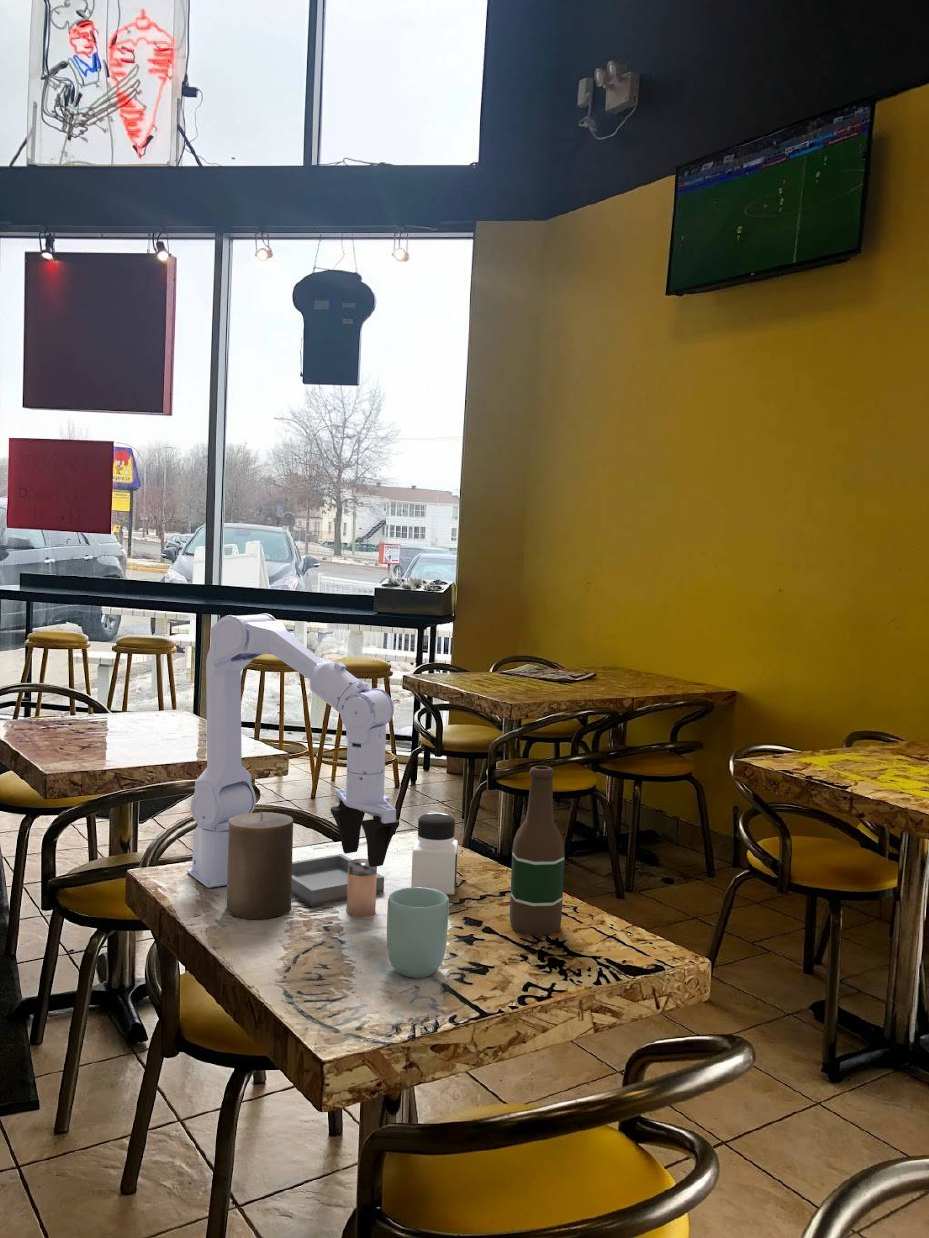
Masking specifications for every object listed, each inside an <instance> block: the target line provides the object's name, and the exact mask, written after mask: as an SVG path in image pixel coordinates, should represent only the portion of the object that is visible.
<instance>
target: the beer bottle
mask: <svg viewBox="0 0 929 1238" xmlns="http://www.w3.org/2000/svg"><path fill="white" fill-rule="evenodd" d="M528 775H530V782H529V793H528V800H527V811H526V813H525V814H526V815H525V819H524V821H523V822H522V823H521V825H520V826H519V828H517V831H516V833H515V835H514V838H513V842H512V843H513V844H512V850H511V851H512V853H511V870H510V871H511V872H510V873H511V874H510V875H511V876H510V892H509V893H510V897H509V922H510V925H511V926H512V928H513V929H514V931H515V932H518V933H522V934H525V935H528V936H533V937H534V936H551V935H552V934H554V933H555V932H557V931H559V930H560V929H561V926H562V925H561V924H562V917H563V901H564V900H563V899H564V896H563V895H564V876H565V875H564V873H565V843H564V839H563V837H562V833H561V831H560V830H559V828H558V826H557V824H556V823H555V818H554V801H553V800H554V798H553V797H554V794H553V788H554V787H553V785H554V784H553V777H555V771H554V769H553V768H552V767H550V766H547V765H534V766H532V767H530V768H529V772H528Z"/></svg>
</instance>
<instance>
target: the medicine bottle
mask: <svg viewBox="0 0 929 1238" xmlns="http://www.w3.org/2000/svg"><path fill="white" fill-rule="evenodd" d="M417 823H418V824H417V838H415V840H414V844H413V849H412V856H411V857H412V858H411V859H412V860H411V881H410V882H411V883H410V884H411V886H410V888H411V887H423V888H430V889H434V890H438V891H440V892H443V893H444V894H446V895H447V896H448V895H451V896H452V895H455V894H456V890H457V889H456V888H457V886H456V885H457V875H458V874H457V871H458V868H457V867H458V866H457V865H458V851H459V850H458V845H459V841H458V840H457V839H455V833H456V832H455V829H456V819H455V818H454V817H453V816H452V815H449V814H447V813H444V812H428V813H425V814H423V815H421V816H419V818H418V820H417Z"/></svg>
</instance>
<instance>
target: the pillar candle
mask: <svg viewBox="0 0 929 1238" xmlns="http://www.w3.org/2000/svg"><path fill="white" fill-rule="evenodd" d="M293 838H294V819H293V817H292V816H291V815H287V814H284V813H283V814H282V813H277V812H263V811H260V812H252V813H249V814H242V815H238V816H235V817H233V818H230V819H229V838H228V839H229V841H228V865H227V868H228V871H227V885H226V911H227V913H229V915H232V916H235V917H238V918H239V917H240V918H243V919H246V920H247V919H250V920H264V919H272V918H275V917H281V916H283V915H286V914H287V913H289V912H290V910H291V909H292V893H291V892H292V862H293V846H294V845H293V843H294V842H293V841H294V839H293Z"/></svg>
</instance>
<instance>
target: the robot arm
mask: <svg viewBox="0 0 929 1238" xmlns="http://www.w3.org/2000/svg"><path fill="white" fill-rule="evenodd" d="M263 655H273V656H274V657H276V659H278V660H280V661H281V662H283V663H284V664H285V665H287V666H288V667H290V668H291V669H293V670H295V671H296V672H297V673H299V674H300V675H302V676H303V677H305V678H306V679H308V680H309V688H310V690H311V691H312V693H314V695H316V696H317V697H318V698H320V699H321V700H322V701H324V702H325V703H326V704H328V705H329V706H330V707H332V708H333V709H334V710H335V711H337V712H338V713H339V714H340V719H341V722H342V724H343V726H344V727H345V731H346V734H345V735H346V736H345V738H347V745H346V746H347V749H346V750H347V752H346V753H347V754H346V780H345V781H346V786H345V787H346V788H342V789H341V788H340V789H335V797H334V798H335V803H338V805H336V806H332V807H330V813H331V815H332V817H333V819H334V822H335V823H336V827H337V829H338V833H339V837H340V843H341V847H342V848H341V849H342V851H343V854H344V855H346V854H352V853H356V852H357V853H358V850H359V845H360V837H361V828H362V829H363V833H364V836H365V841H366V846H367V847H366V848H367V859H368V863H369V866H370V867H376V866H377V867H381V866H383V865H384V862H385V859H386V857H387V852H388V849H389V846H390V844H391V841H392V839H393V836H394V834H395V833H396V831H397V830H398V828H399V827H400V820H399V819H398V818H397V809H396V808H394V807H393V806H392V805H391V804H390V803H389V802H391V801H390V798H391V797H390V796H388V795H385V775H386V771H385V769H386V746H387V745H386V744H387V743H386V740H387V734H386V733H387V725H388V724H389V723H390V722H391V720H392V719H393V716H394V713H395V711H394V710H395V709H394V708H395V706H394V703H393V700H392V698H391V696H390V695H389V694H388V693H387V692H386V690H384V689H382V688H377V687H376V688H370V687H369V683H367V682H366V681H364V680H360V679H358V678H357V677H356V676H354V675H353V674H352V673H351V672H349V671H348V670H346V668H347V665H346V664H344V662H342V661H339V662H336V661H332V660H331V661H326V662H324V661H323V660H321V658H319V657H318V656H317V655H316V654H314V653H313V652H312V650H310V649H309V648H308V647H306V646H305V645H304V644H303V643H302V642H301V641H300V640H298V638H296V637H295V636H294V635H293V634H292V633H290V632H289V631H288V630H287V628H286V626H285V623H283V622H281V621H280V620H277V619H276V618H275V617H274V616H273V615H271V614H270V613H265V612H264V613H258V614H247V615H246V614H245V615H232V614H229V615H226V616H222V617H221V618H220V619H218V621H217V622H216V623H214V624H213V626H211V627H210V646H209V649H208V652H207V655H206V659H205V660H206V662H205V680H206V681H205V682H206V683H205V685H206V693H205V694H206V695H205V696H206V700H205V701H206V768H205V769H204V770H203V772H202V773H201V774H200V775H199V776H198V777H197V779H196V780H195V782H194V791H193V792H194V793H193V796H192V798H191V801H190V811H191V815H192V818H193V820H194V821H195V823H196V824H197V826H196V828H195V829H194V832H193V835H192V866H191V868H187V869H186V872H187V873H188V874H189V875H191V877H193V878H194V879H196V880H197V881H199V882H200V883H201V884H203V886H205V887H206V888H216V887H222V886H227V871H228V868H227V865H228V841H229V839H228V838H229V819H230V818H233V817H235V816H238V815H242V814H249V813H254V812H253V811H254V810H255V807H256V804H257V798H256V797H257V796H256V792H255V790H254V787H253V783H252V775H251V773H250V772H249V771H248V770H247V769H246V768H245V767H244V766H243V765H242V756H243V755H242V674H241V673H242V671H243V670H244V669H245V668H246V667H247V666H248V665H249V664H250V663H251V662H252V661H253V660H255V659H256V658H259V657H260V656H263ZM366 814H367V815H369V816H372V819H371V818H370V819H364V817H365V815H366Z"/></svg>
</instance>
